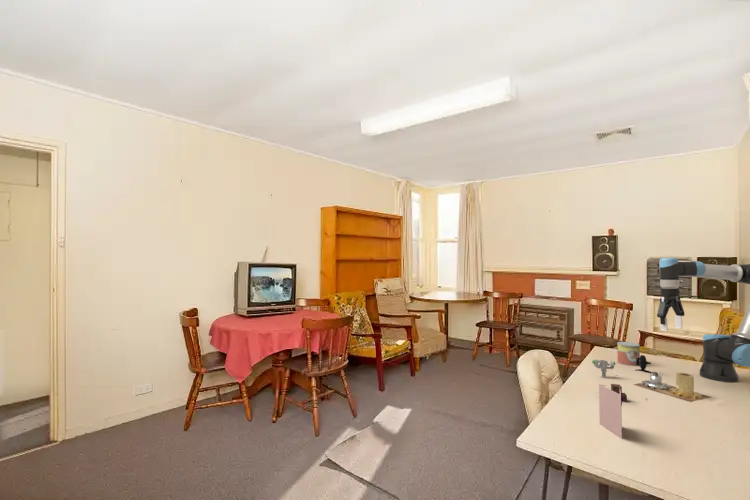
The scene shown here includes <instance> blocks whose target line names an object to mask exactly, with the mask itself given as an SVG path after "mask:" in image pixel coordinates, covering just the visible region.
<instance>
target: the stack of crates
mask: <svg viewBox="0 0 750 500" xmlns="http://www.w3.org/2000/svg"><path fill="white" fill-rule="evenodd" d="M610 390H612V391H614V392H616V393H618V394H620V391H621V392H622V395H623V398H624V400H623V402H622V403H627V402H628V396H627V394H626V392H623V389H622V386H621V384H618V383H617V384H616V383H610Z"/></svg>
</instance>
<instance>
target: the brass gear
mask: <svg viewBox="0 0 750 500" xmlns="http://www.w3.org/2000/svg"><path fill="white" fill-rule="evenodd" d="M675 378H676V379H675V383H676V384H675V385H676V386H675V387H676V388H675V389H674V388H671V389H669V391H670V393H671V394H673V395H676V396H678V397H684V398H687V399H688V398H691V399H696V398H697V399H701V398H702V395H701V394H702V393H700V392H697V391H695V381H694V375H693V374H690V373H686V372H675ZM701 400H702V399H701Z"/></svg>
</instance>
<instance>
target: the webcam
mask: <svg viewBox="0 0 750 500" xmlns="http://www.w3.org/2000/svg"><path fill="white" fill-rule="evenodd" d="M636 362H637V365H639V366H638V367H640V369H634V372H636V371H639V372H643V373H648V374H652V372H651V371H650V370H646V368H647V366H648V365H651V364H652V362H650V361H647V358H646V356H645V355H643V354H640V358H636Z"/></svg>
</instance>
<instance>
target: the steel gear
mask: <svg viewBox="0 0 750 500" xmlns="http://www.w3.org/2000/svg"><path fill="white" fill-rule="evenodd" d="M662 381H663V379H662V376H661V375H659V374H658V376H653V374H650V375H649V380H647V379H644V380H641V383H642V385H645V387H650V388H651V389H658V390H668V389H671V387H670V386H671V385H670V384H668V383H666V382H662Z"/></svg>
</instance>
